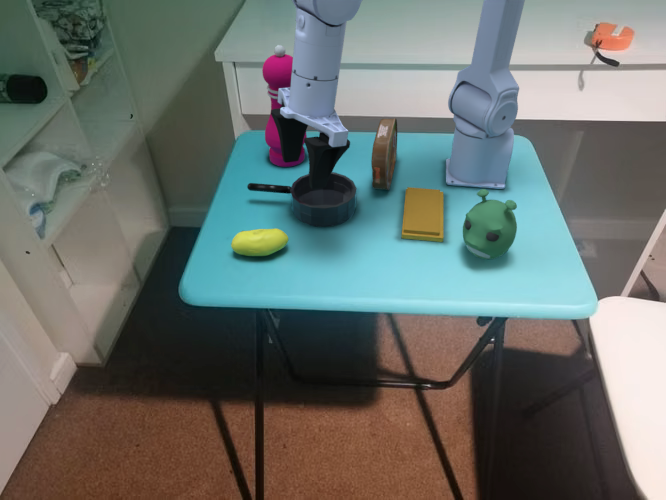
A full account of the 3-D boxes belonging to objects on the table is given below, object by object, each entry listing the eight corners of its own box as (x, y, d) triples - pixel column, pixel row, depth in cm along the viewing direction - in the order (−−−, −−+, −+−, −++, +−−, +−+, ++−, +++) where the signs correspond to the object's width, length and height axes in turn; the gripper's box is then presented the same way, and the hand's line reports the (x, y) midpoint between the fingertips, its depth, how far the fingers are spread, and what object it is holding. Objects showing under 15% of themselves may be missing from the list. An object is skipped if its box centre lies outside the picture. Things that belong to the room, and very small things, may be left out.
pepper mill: (315, 154, 97) (311, 42, 84) (292, 172, 92) (285, 57, 80) (282, 144, 100) (274, 34, 87) (259, 161, 95) (246, 48, 82)
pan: (359, 192, 88) (359, 174, 85) (351, 229, 80) (351, 210, 78) (299, 187, 89) (298, 169, 87) (285, 223, 81) (284, 204, 79)
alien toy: (445, 256, 75) (455, 197, 69) (476, 231, 80) (488, 174, 73) (489, 280, 72) (503, 220, 65) (519, 253, 76) (535, 194, 69)
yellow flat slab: (442, 195, 87) (443, 188, 86) (442, 242, 78) (444, 234, 77) (405, 192, 88) (406, 185, 87) (401, 238, 78) (402, 230, 78)
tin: (387, 200, 86) (390, 154, 81) (367, 198, 86) (369, 152, 81) (397, 153, 97) (401, 110, 92) (380, 151, 98) (382, 108, 92)
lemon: (233, 244, 78) (230, 222, 75) (289, 241, 78) (287, 219, 76) (231, 263, 75) (228, 241, 72) (289, 260, 75) (287, 238, 72)
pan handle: (293, 191, 84) (293, 184, 83) (291, 195, 83) (291, 189, 83) (248, 187, 85) (248, 181, 84) (246, 191, 84) (245, 185, 83)
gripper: (259, 55, 68) (254, 153, 75) (316, 97, 58) (303, 204, 66) (308, 53, 71) (298, 147, 79) (369, 93, 62) (351, 195, 69)
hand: (303, 173), depth 73 cm, fingers open, 7 cm apart
